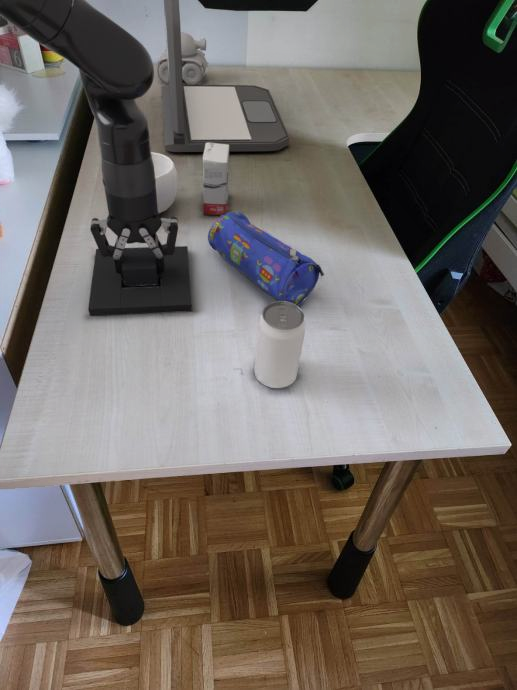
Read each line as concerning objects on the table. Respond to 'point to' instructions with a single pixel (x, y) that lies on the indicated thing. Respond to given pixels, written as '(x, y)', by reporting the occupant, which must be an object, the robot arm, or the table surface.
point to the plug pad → (139, 267)
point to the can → (279, 344)
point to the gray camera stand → (214, 107)
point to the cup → (164, 181)
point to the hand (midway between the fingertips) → (140, 272)
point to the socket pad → (141, 288)
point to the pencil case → (264, 258)
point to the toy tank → (186, 61)
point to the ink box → (215, 178)
